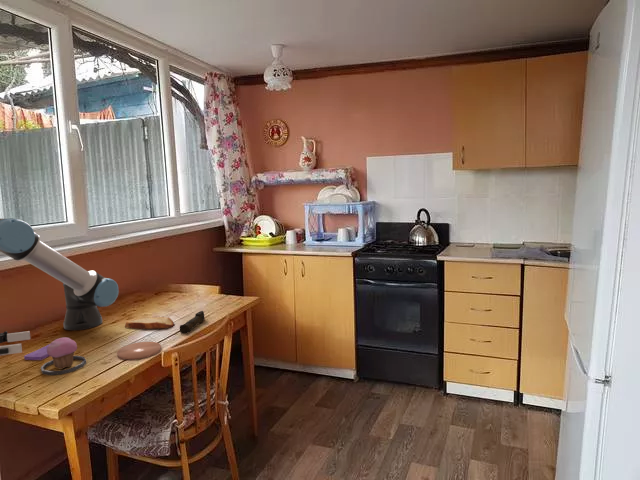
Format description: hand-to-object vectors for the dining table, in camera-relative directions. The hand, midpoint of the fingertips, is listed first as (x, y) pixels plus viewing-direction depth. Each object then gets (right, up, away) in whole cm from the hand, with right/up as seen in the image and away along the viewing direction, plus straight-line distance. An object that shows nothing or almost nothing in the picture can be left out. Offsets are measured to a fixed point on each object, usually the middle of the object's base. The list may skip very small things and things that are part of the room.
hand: (26, 341), depth 152 cm
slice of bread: (+24, -4, +47) cm, 52 cm away
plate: (+31, -8, +17) cm, 36 cm away
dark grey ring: (+10, -10, +5) cm, 15 cm away
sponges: (-5, -9, +19) cm, 21 cm away
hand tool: (+43, -4, +44) cm, 62 cm away
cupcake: (+10, -10, +5) cm, 15 cm away
